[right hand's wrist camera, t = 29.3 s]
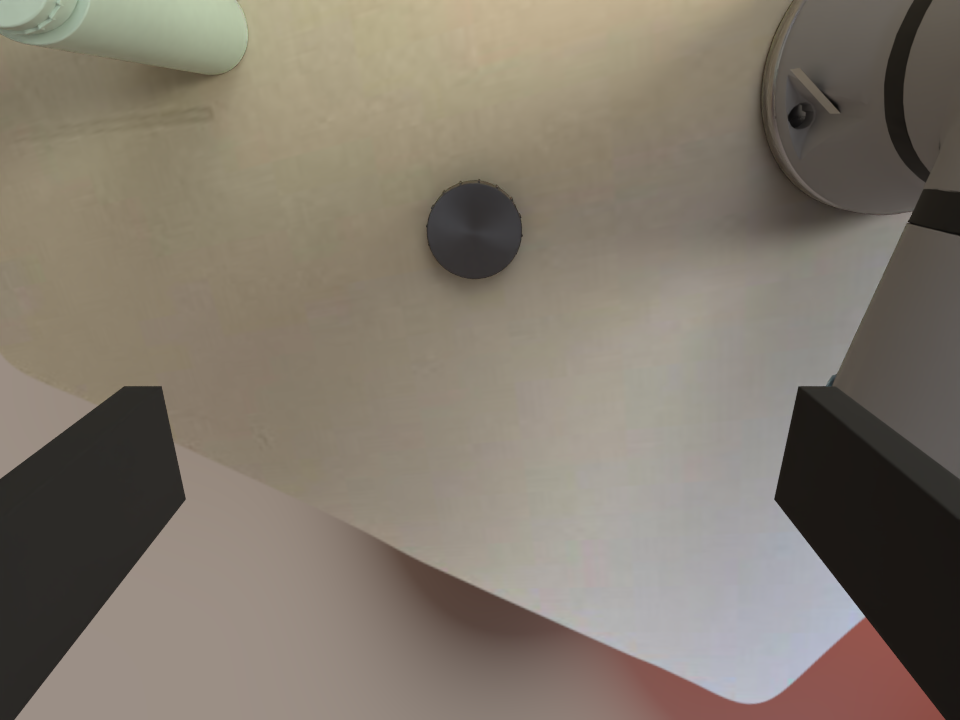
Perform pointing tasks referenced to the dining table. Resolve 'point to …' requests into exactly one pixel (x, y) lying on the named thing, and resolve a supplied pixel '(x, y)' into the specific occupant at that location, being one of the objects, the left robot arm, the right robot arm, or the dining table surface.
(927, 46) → the right robot arm
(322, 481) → the dining table surface
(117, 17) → the jar
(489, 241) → the lid
